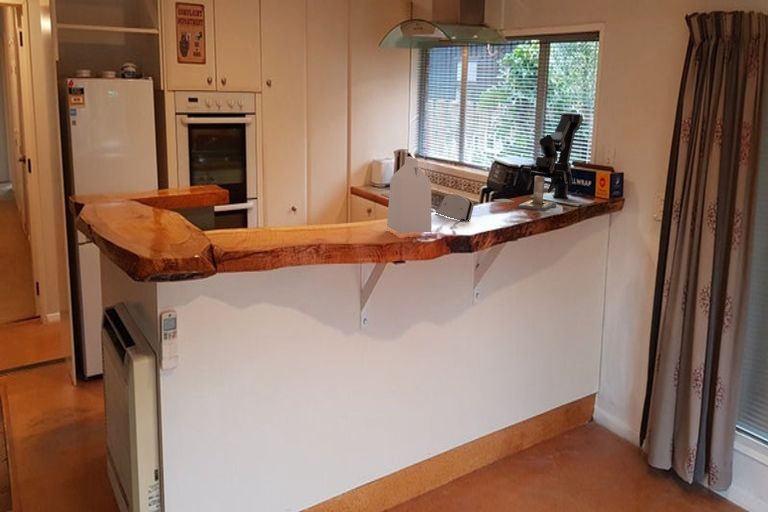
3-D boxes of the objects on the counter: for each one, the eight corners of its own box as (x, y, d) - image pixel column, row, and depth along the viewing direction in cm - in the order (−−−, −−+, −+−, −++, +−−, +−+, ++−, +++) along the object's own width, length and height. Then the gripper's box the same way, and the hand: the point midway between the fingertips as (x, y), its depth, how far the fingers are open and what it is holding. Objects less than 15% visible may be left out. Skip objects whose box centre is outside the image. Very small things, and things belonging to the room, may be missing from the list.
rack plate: (531, 203, 298) (531, 199, 298) (556, 205, 293) (556, 202, 292) (518, 208, 285) (518, 204, 285) (543, 211, 280) (544, 207, 279)
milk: (386, 231, 238) (388, 155, 231) (416, 229, 242) (419, 155, 235) (400, 238, 227) (402, 160, 220) (431, 236, 231) (434, 159, 225)
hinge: (434, 214, 269) (442, 189, 268) (443, 217, 272) (451, 193, 271) (459, 222, 255) (468, 196, 254) (469, 225, 258) (477, 200, 257)
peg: (530, 206, 290) (533, 176, 287) (538, 206, 292) (541, 175, 288) (536, 208, 286) (538, 177, 283) (544, 207, 288) (546, 177, 285)
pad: (505, 199, 305) (505, 198, 305) (514, 202, 299) (514, 201, 299) (492, 200, 302) (492, 199, 302) (501, 203, 296) (501, 202, 296)
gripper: (523, 148, 291) (512, 176, 285) (567, 151, 282) (556, 181, 275) (528, 164, 299) (517, 193, 293) (571, 168, 290) (560, 197, 284)
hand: (537, 191), depth 286 cm, fingers open, 9 cm apart
